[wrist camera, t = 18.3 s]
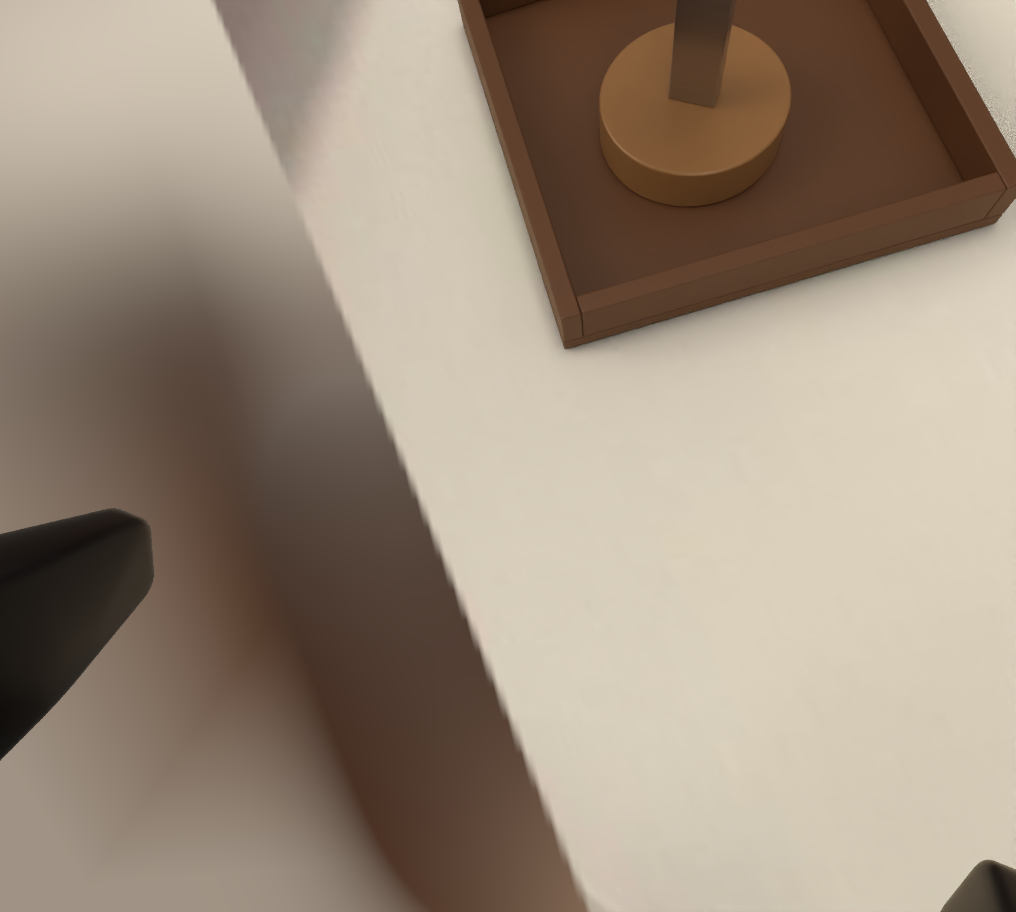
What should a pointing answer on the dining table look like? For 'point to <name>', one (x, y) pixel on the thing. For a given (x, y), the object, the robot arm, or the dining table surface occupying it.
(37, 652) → the robot arm
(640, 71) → the red knob post
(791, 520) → the dining table surface
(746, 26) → the tray
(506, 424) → the dining table surface
